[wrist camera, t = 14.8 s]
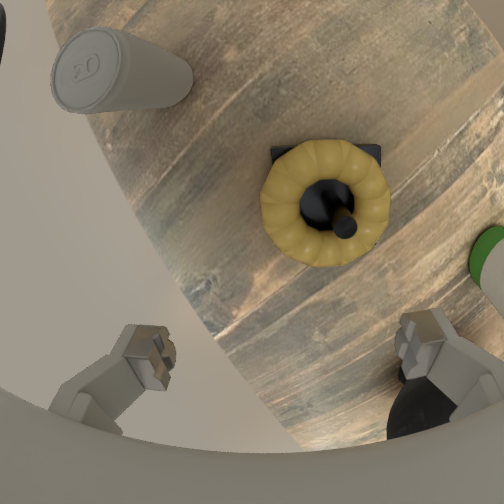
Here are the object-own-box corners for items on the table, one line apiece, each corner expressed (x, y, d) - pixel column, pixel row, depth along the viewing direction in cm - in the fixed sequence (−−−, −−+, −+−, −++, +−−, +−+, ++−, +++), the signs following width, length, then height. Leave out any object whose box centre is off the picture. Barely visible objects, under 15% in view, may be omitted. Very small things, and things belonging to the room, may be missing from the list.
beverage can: (140, 64, 19) (46, 48, 8) (192, 50, 18) (121, 8, 8) (146, 113, 21) (53, 128, 10) (198, 101, 20) (128, 98, 10)
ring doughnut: (267, 259, 26) (266, 277, 23) (255, 141, 21) (252, 146, 18) (378, 252, 24) (389, 268, 22) (383, 138, 19) (398, 142, 17)
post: (279, 244, 26) (279, 290, 20) (271, 146, 22) (269, 161, 16) (372, 239, 25) (399, 281, 19) (376, 143, 21) (413, 159, 15)
